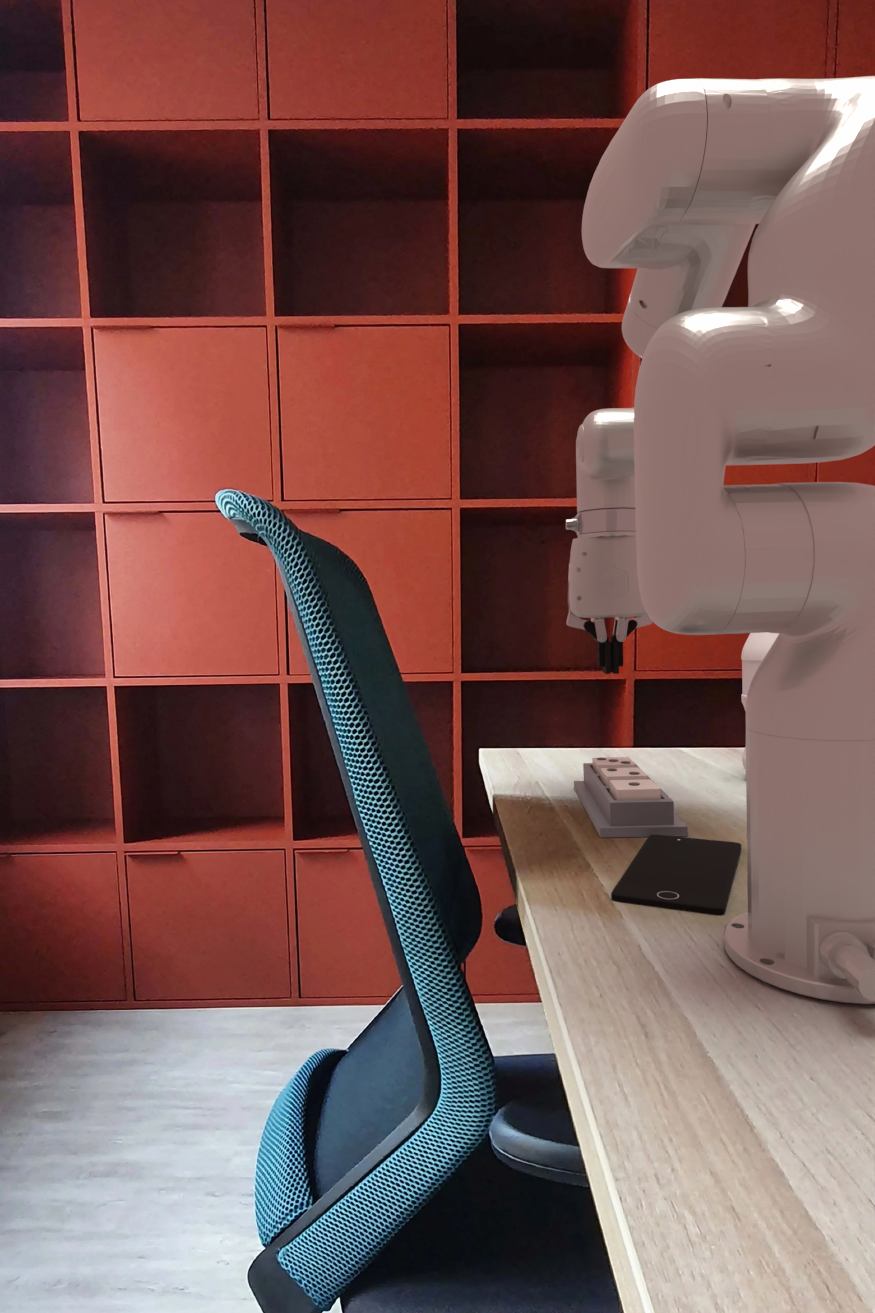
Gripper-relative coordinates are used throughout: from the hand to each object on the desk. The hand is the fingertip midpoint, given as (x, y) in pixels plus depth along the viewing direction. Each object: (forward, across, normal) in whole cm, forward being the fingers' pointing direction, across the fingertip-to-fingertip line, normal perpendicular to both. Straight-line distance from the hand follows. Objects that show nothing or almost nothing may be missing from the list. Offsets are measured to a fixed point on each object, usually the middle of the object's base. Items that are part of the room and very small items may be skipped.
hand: (610, 672), depth 96 cm
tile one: (+13, 0, -14) cm, 19 cm away
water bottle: (+16, +22, +6) cm, 28 cm away
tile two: (+13, 0, -7) cm, 15 cm away
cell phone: (+16, +1, -29) cm, 33 cm away
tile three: (+13, 0, -1) cm, 13 cm away
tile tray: (+16, 0, -7) cm, 17 cm away
